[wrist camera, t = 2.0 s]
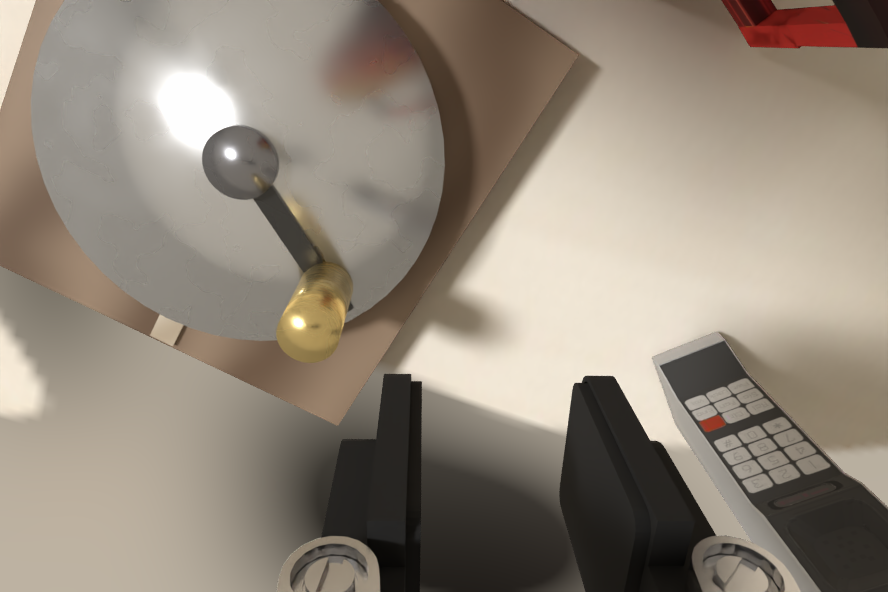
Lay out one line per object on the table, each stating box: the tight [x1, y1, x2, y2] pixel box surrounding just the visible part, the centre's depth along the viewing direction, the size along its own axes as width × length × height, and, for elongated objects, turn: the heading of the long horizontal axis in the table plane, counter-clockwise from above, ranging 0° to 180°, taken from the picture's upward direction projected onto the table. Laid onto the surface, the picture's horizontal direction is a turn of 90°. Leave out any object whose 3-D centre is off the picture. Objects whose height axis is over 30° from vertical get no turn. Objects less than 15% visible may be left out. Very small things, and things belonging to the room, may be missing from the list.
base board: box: [0, 0, 579, 425], centre depth 28 cm, size 20×22×2 cm
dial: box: [31, 0, 445, 363], centre depth 24 cm, size 17×17×6 cm
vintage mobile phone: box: [652, 332, 888, 592], centre depth 23 cm, size 4×5×25 cm
